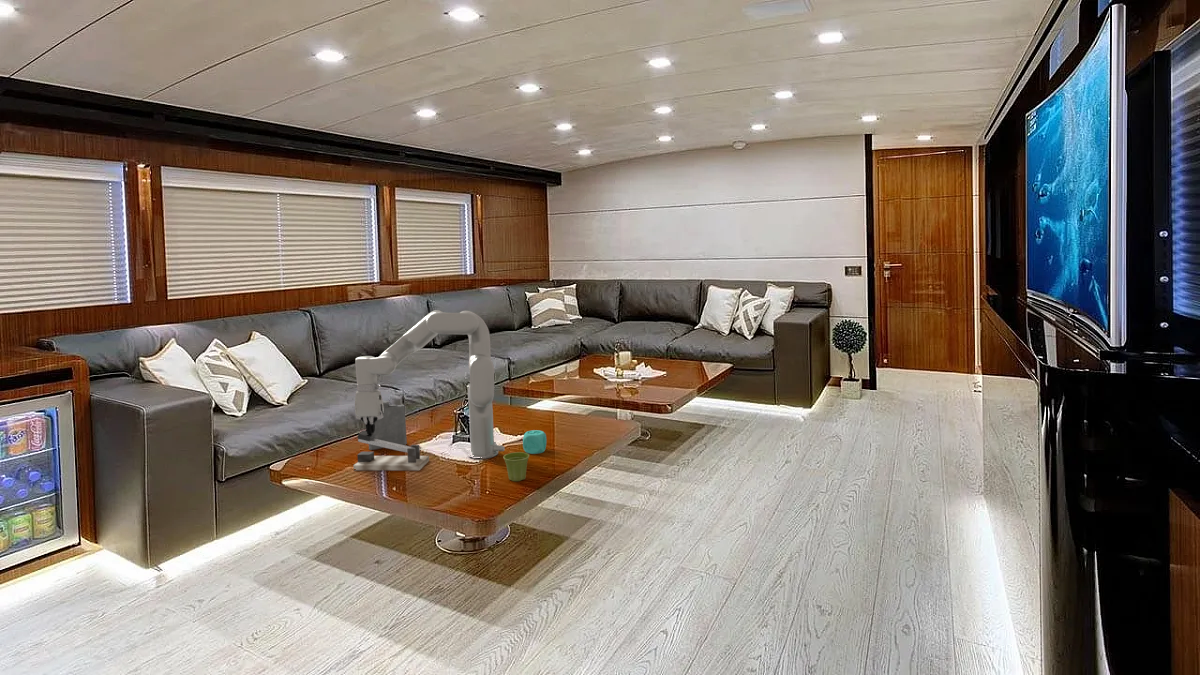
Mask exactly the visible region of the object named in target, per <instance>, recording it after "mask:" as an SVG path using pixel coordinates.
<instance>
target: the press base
mask: <svg viewBox="0 0 1200 675" xmlns="http://www.w3.org/2000/svg"><path fill="white" fill-rule="evenodd" d="M410 447H414V448H408V449H407V452H408V453H407V452H406V453H407V455H375V451H360V452H359V453H358V454H357V455H356V456H357V462H356V463H355V464H353V470H354V469H356V470H355V471H420V470H421V469H423V468H424V466H425V465H427V463H429V461H430V455H421V453H420V452H421V450H420V444H411V445H410Z"/></svg>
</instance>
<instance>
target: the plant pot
mask: <svg viewBox="0 0 1200 675" xmlns="http://www.w3.org/2000/svg"><path fill="white" fill-rule="evenodd" d="M529 458H530V454H529V453H526V452H523V451H522V452H521V451H519V452H518V451H515V452H510V453H506V454H504V455H503V460H504V462H505V465H506V471H507V476H508V480H510V481H512V482H520V481H522V480H525V479H526V476H527V466H528V460H529Z"/></svg>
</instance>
